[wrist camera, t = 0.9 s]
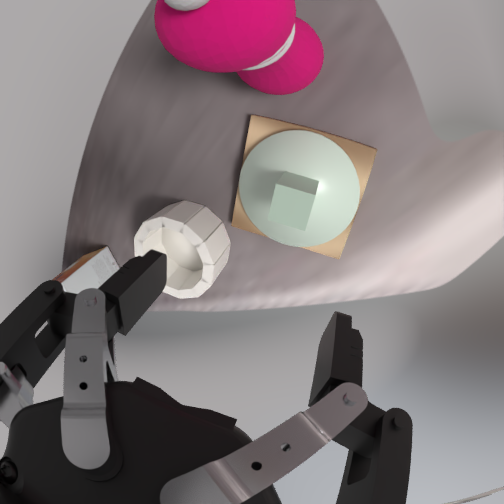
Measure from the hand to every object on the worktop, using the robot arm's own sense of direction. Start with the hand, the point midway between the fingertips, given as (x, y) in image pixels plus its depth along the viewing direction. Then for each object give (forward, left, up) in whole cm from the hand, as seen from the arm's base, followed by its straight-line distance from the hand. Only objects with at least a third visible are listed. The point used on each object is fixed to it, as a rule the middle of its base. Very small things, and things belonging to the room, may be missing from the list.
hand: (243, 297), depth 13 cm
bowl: (+10, -11, -18) cm, 23 cm away
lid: (0, 0, -17) cm, 17 cm away
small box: (+20, -27, -18) cm, 38 cm away
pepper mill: (-12, -4, -18) cm, 22 cm away
